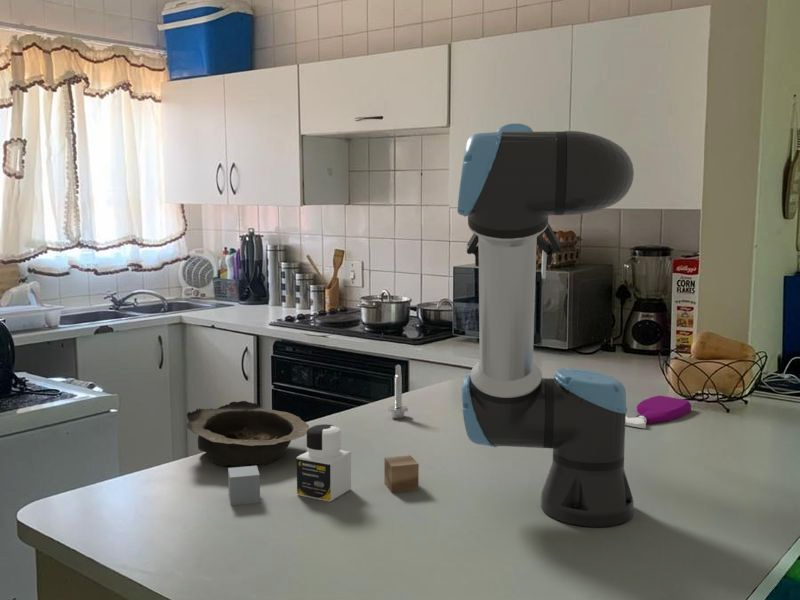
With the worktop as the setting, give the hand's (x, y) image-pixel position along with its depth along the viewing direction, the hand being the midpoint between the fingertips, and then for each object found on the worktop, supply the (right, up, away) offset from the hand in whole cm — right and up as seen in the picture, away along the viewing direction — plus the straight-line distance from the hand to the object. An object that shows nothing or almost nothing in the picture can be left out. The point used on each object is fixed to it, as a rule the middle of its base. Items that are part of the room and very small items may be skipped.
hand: (512, 275), depth 177 cm
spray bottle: (+36, -34, +14) cm, 52 cm away
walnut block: (-25, -40, -34) cm, 58 cm away
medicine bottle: (-39, -40, -37) cm, 67 cm away
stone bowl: (-56, -38, -16) cm, 70 cm away
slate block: (-53, -40, -40) cm, 77 cm away
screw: (-26, -34, +13) cm, 45 cm away
